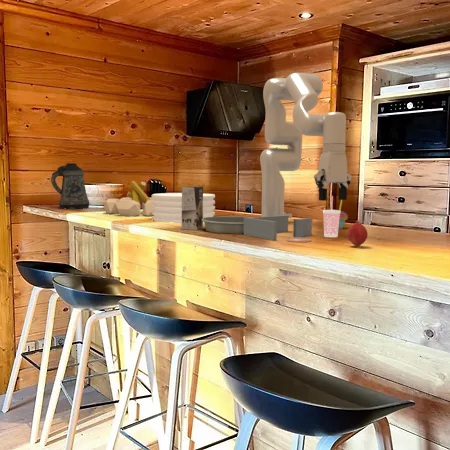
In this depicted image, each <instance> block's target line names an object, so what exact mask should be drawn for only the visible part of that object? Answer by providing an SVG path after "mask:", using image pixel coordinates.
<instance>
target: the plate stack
mask: <svg viewBox="0 0 450 450" xmlns="http://www.w3.org/2000/svg"><path fill="white" fill-rule="evenodd" d="M151 197H153V198H154V200H152V203H153V204H154V205H153V206H152V209H154V211H152V215H154V216H151V217H152V218H151V219H152V221H153V220H154V222H158V221H160V222H159V223H169V222H174V223H173V224H182V192H165V193H164V192H163V193H162V192H161V193H153V194H151ZM215 198H216V195H215V193H203V218H206V217H214V216H215V215H216V211H214V210H216V206H215V204H216V200H215ZM203 223H204V221H203Z"/></svg>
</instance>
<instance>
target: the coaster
mask: <svg viewBox="0 0 450 450" xmlns="http://www.w3.org/2000/svg"><path fill="white" fill-rule="evenodd" d="M285 241H287V242H289V241H290V243H311V241H312V238H310V237H305V236H304V237H293V236H292V237H291V236H290V237H286V238H285Z"/></svg>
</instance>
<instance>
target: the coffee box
mask: <svg viewBox="0 0 450 450" xmlns="http://www.w3.org/2000/svg"><path fill="white" fill-rule="evenodd" d="M181 193H182V223H181V230H187V231H188V230H191V231H199V230H200V229H203V228H204V222H203V221H202V218H203V194H204V186H182V187H181Z"/></svg>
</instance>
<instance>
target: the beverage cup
mask: <svg viewBox="0 0 450 450" xmlns="http://www.w3.org/2000/svg"><path fill="white" fill-rule="evenodd" d="M330 197H331V199H330V201H331V202H330V203H331V204H330V209H323V210H322V213H323V214H322V215H323V237H325V238H338V236H339V229H338V227H339V217H340V212H341V211H342V210H341V211H339V209H333V201H334V196H333V195H331V196H330Z"/></svg>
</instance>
